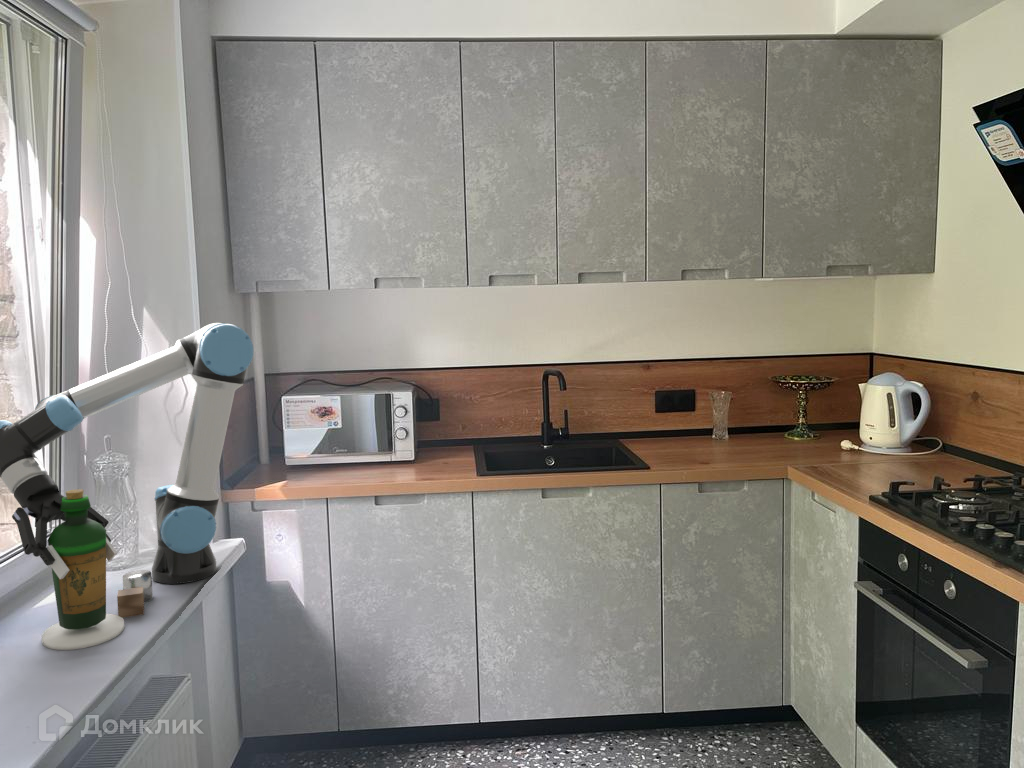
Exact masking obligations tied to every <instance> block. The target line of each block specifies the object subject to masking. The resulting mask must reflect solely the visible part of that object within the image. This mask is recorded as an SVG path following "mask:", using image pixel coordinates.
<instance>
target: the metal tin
mask: <svg viewBox="0 0 1024 768" xmlns="http://www.w3.org/2000/svg"><path fill="white" fill-rule="evenodd" d="M152 582H153V579H152V570H148V569H139V570H133V571H132V570H131V571H130V572H126V573H125V574H123V575H122V590H124V589H131V588H139V587H143V592H144V604H145V603H147V602H150V601H151V600H152V599H153V597H154V596H153V583H152Z"/></svg>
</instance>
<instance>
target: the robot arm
mask: <svg viewBox="0 0 1024 768" xmlns="http://www.w3.org/2000/svg"><path fill="white" fill-rule="evenodd" d="M253 357H254V345H253V341H252V339H251V337H250V336H249V334H248V333H247V331H245V330H244V329H243V328H241V327H239V326H238V325H237V324H236V325H235V324H232V323H226V322H213V323H209V324H207V325H205V326H203V327H201V328H200V329H198V330H196V331H194V332H192V333H191V334H189V335H187V336H184V337H182V338H180V339H178V340H176V342H175V345H174V346H172V347H169V348H167V349H165V350H164V349H163V350H161V351H160V352H157V353H155V354H152V355H150V356H147V357H145V358H143V359H140V360H138V361H135V362H133V363H131V364H128V365H125V366H122V367H120V368H117V369H116V370H113V371H111V372H109V373H106V374H103V375H101V376H98V377H96V378H94V379H92V380H89V381H87V382H84V383H82V384H79V385H77V386H75V387H72V388H70V389H68V390H65V391H62V392H60V393H58V394H54V395H48V396H46V397H44V398H42V399H41V400H40V401H39V402H38V403H37V404H36V406H35V408H34V410H33V411H32V412H31V411H30V413H28V414H27V415H25V416H24V417H22V418H21V419H19V420H17V421H16V422H14V423H12V422H11V421H9V420H7V419H6V420H5V419H1V420H0V478H1V481H2V482H3V483H4V485H5V486H6V488H7V489H8V490H9V492H10V493H11V494H13V497H14V498H15V501H17V503H18V505H19V507H17V508H16V510H15V511H14V512H13V514H12V515H11V518H12V519H13V521H14V522H15V523H16V525H17V529H18V534H19V537H20V541H21V544H22V548H23V552H24V554H25V555H26V556H27V555H31V554H32V555H33V556H34V557H36V558H37V557H39V558H40V559H41V560H42V562H43V563H44V564H45V565H46V566H48V567H49V566H50V568H51V570H52V569H53V570H54V572H55V573H56V574H57V576H58V577H59V579H63V578H64V577H65V575H66V574H67V573H68V572H69V569H68V567H67V566H66V564H65V563H64V562H63V560H62V559H61V557H60V556H59V555H58V553H57V552H56V550H55V549H54V548H53V546H52V545H50V546H47V545H48V523H50V522H52V521H57V520H61V521H63V522H65V516H64V512H63V511H60V510H61V503H62V498H64V497H65V496H64V495H62V494H61V493H60V490H59V486H58V485H57V483H56V482H55V480H53V478H52V477H51V475H49V474H48V470H46V468H45V467H44V466H43V464H42V463H41V461H40V460H39V459H38V458H37V455H35V454H36V453H37V452H39V451H40V450H42V449H43V448H44V447H46V446H48V445H49V444H51V443H52V442H54V441H55V440H57V439H58V438H60V437H62V436H64V435H65V434H66V433H68V432H70V431H73V430H74V429H75V428H76V427H77V426H79V425H80V424H81V423H82V422H83V421H84V419H86V418H88V417H90V416H91V417H92V416H94V415H95V414H98V413H100V412H103V411H105V410H107V409H109V408H113V407H114V406H117V405H120V404H121V403H124V402H126V401H129V400H131V399H133V398H135V397H138V396H140V395H143V394H145V393H148V392H150V391H153V390H155V389H156V388H159V387H162V386H164V385H166V384H169V383H171V382H173V381H176V380H178V379H180V378H183V377H185V376H187V375H191V376H192V378H193V379H194V381H195V382H196V388H195V392H194V396H193V402H192V406H191V410H190V415H189V420H188V425H187V427H186V428H187V429H186V434H185V437H184V443H183V448H182V452H181V457H180V461H179V467H178V471H177V476H176V481H175V483H174V484H167V485H163V486H159V487H157V488H156V490H155V495H154V496H155V497H154V501H155V514H156V532H157V533H156V534H157V550H156V553H155V556H154V560H153V563H152V567H151V577H152V581H155V582H157V583H160V584H170V585H171V584H173V585H174V584H176V585H177V584H185V583H191V582H195V581H200V580H203V579H206V578H208V577H210V576H211V575H213V574H215V573H216V572H217V559H216V557H215V554H214V552H213V550H212V547H211V545H210V544H211V542H212V540H213V539H214V537H215V534H216V531H217V521H216V514H217V510H218V504H219V500H220V495H219V493H218V492H217V491H216V489H215V486H216V482H217V478H218V473H219V467H220V464H221V459H222V454H223V449H224V444H225V440H226V435H227V430H228V425H229V421H230V416H231V412H232V408H233V407H232V406H233V403H234V398H235V392H236V391H237V390H238V389H239V388H240V387H242V386H244V382H245V380H246V379H245V378H246V374H247V370H248V368H249V366H250V364H252V361H253ZM30 517H32V518H33V519H34V527H35V533H34V532H33V527H32V524H31V519H30ZM87 518H88V519H91V520H94V521H96V522H98V523H100V524H101V525H102V526H103V527H104V528H105V529H106V527H107V526H108V525H109V523H110V522H109V520H108V519H107V518H105V517H104V516H102V514H100V513H99V512H98V511H96V510H95V509H94V508H93V507H92V506H91V507H90V508H88V516H87ZM34 534H35V535H34ZM111 540H112V539H111V537H110V536H109V535H108V533H107V532H106V561H107V562H110V561H112V560H113V559H114V558H115V556H116V555H117V554H118V550H116V548H115V547H114V545H113V544H112V543H111V542H112V541H111Z"/></svg>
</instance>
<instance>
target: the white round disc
mask: <svg viewBox="0 0 1024 768" xmlns="http://www.w3.org/2000/svg"><path fill="white" fill-rule="evenodd" d="M124 629H125V620H124V618H122V617H120V616H118V614H111V613H106V618H105V619H104V620H103V621H101V622H100V623H98V624H97V625H95V626H92V627H89V628H84V629H78V630H73V629H65V628H63V627H61V626H60V625H59V622H57V623H55V624H53V625H50V627H47V628H46V629H45V630H44V631H43V632H42V635H41V643H42V645H43V646H44V647H45V648H47V649H50V650H56V651H73V650H80V649H84V648H85V649H86V648H91V647H94V646H97V645H100V644H103V643H106V642H108V641H110V640H112V639H115V638H116V637H118V636H119V635H120V634H122V632H123V631H124Z"/></svg>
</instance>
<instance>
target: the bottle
mask: <svg viewBox="0 0 1024 768" xmlns="http://www.w3.org/2000/svg"><path fill="white" fill-rule="evenodd" d="M65 495H66V496H64V498H62V503H61V510H60V511H63V512H64V516H65V521H63V522H61V523H60V524H58V525H56V526H55V527H54V528H53V530H52V532H51V533H50V535H49V537H47V545H48V546H50V545H52V546H53V548H54V549H55V550H56V552H57V553H58V555H59V556H60V557H61V559H62V560H63V562H64V563H65V564H66V566H67V567H68V569H69V572H68V573H67V574H66V575H65V577H64V578H63V579H59V577H58V576H57V574H56V573H55V572H54V570H53V569H52V568H51V574H52V581H53V587H54V588H53V589H54V596H55V602H56V609H57V610H56V611H57V616H58V623H59V625H60V626H61V627H63V628H65V629H73V630H78V629H84V628H89V627H92V626H95V625H97V624H98V623H100V622H101V621H103V620H104V619H105V618H106V614H107V558H106V533H107V529H106V527H105V528H104V527H103V526H102V525H101V524H100V523H98V522H96V521H94V520H91V519H88V518H87V516H88V508H90V507H91V508H92V506H91V502H90V499H89V496H88V495H87V494H84V489H82V488H78V489H77V488H75V489H69V490H66V491H65ZM48 546H47V547H48Z"/></svg>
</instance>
